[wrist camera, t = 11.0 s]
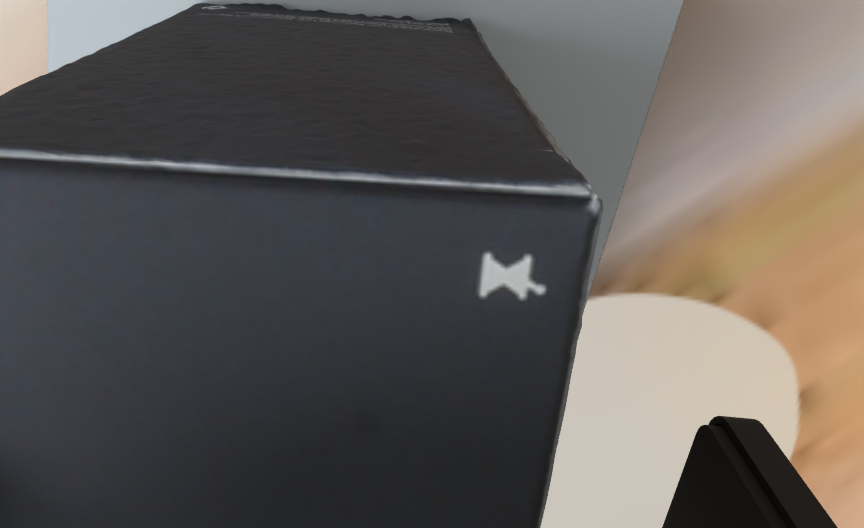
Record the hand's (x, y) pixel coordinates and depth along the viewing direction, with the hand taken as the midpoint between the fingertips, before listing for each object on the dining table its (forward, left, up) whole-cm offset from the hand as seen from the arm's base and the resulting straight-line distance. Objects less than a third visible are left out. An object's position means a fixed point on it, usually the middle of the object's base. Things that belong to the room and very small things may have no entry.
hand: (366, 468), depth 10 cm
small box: (+1, 0, -8) cm, 8 cm away
